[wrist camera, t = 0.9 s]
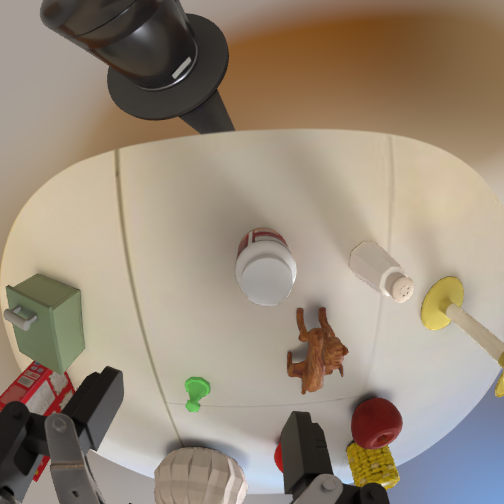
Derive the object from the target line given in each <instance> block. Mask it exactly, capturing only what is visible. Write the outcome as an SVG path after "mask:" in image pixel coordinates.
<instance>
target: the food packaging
mask: <svg viewBox="0 0 504 504" xmlns="http://www.w3.org/2000/svg"><path fill="white" fill-rule="evenodd" d="M74 393H75V390H74V388H73V386H72V384H71V381H70V379H69V377H68V374H67V372H66V371H65V372H64V373H63V374H62V375H60V374H58V373H56V372H54V371H52V370H50V369H49V368H47V367H45V366H43V365H41V364H40V363H38V362H36V361H35V360H34V361H33V362H32V363H31V364H30V365H29V366H28V368H27V369H26V370H25V371H24V372H23V373H22V374H21V375H20V376H19V377H18V378H17V379H16V380H15V381H14V382H13V383H12V384H11V385H10V386H9V387H8V389H7V390H6V391H5V392H4V393H3V394H2V395H1V396H0V412H1V411H2V409H3V408H4V407H5V405H6V404H7V403H9V402H11V401H20V402H22V403H24V404H25V405H26V406H27V408H28V409H29V412H32V413H36V414H40V415H43V416H49V415H51V414H53V413H60V412H61V411H62V410H63V408H64V407H65V405H66V404H67V403H68V401H69V400H70V399H71V397H72V396H73V394H74ZM49 459H50V457H48V456H45V455H44V457H43V458H42V460H41V462H40V464H39V466H38V468H37V471H36V473H35V475H34V477H33V479H32V480H34V481H36V482H37V481H38V479H39V477H40V475H41V473H42V472H43V470H44V468H45V467H46V465H47V463H48V461H49Z"/></svg>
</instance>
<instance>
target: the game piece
mask: <svg viewBox="0 0 504 504" xmlns="http://www.w3.org/2000/svg"><path fill="white" fill-rule="evenodd" d="M185 387H186V391H187V392H188V393H189V396H190V400H188V401H187V403H186V406H185V407H186V408H187V409H188V410H189V412H198V410H199V408H200V404H199V403H198V401H199V400H200V399H201V398H202V397H204V396H206V395H207V394H209V393H210V385H209V383H208V382H207V381H205V380H204V379H203V378H199V377H191V378H190V379H188V380H187V381H186V382H185Z"/></svg>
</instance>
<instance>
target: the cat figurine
mask: <svg viewBox="0 0 504 504" xmlns="http://www.w3.org/2000/svg"><path fill="white" fill-rule="evenodd" d="M319 322H320V325H321V328H314V329H311V330H310V331H309V332H308V331H307V329H306V327H305V325H304V319H303V309H302V308H299V309H297V324H298V328H299V331H300V335H299V338H298V339H299V340H300V341H302V342H306V341H308V344H309V347H308V353H307V357H306V359H305V361H303V362H300V363H293V364H292V354H291V352H288V355H287V373H288V376H289V377H299V378H301V379H302V382H303V384H302V392H301V393H302V394H305V393H306V391H309V392H314V391H317V390H319V389H320V388H322V386H323V379H324V375H328V374H332V372H333V369H339V371H340V374H341V376H342V377H343V367H342V362H343V359H344V356H345V355H347V354H348V349H347V348H346V347H345V346H344V345H343V344H342V343H341V341H340V340H339V338H338V337H335V334H334V332H333V330H332V328H331V326H330V325H329V324H328V322H327V318H326V308H324V307H322V308H320V309H319Z"/></svg>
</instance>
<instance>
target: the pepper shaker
mask: <svg viewBox="0 0 504 504" xmlns="http://www.w3.org/2000/svg"><path fill="white" fill-rule="evenodd" d="M349 267H350V269H351V270H352V271H353V273H354V274H355V276H356V277H357V278H359V279H360V280H362V281H363V282H365V283H366V284H367V285H369V286H370V287H372V288H373V289H375V290H376V291H378V292H379V293H381V294H382V295H384V296H391V297H392V298H393V299H394V300H395V301H396V302H404V301H406V300H408V299H409V298H410V297H411V295H412V293H413V290H414V283H413V281H412V279H410V278H409V277H407V276H406V274H405V272H404V270H403V268H402V267H401V266H400V265H399V264H398V263H397V262H396V261H395V260H394V259H393V258H392V257H391V256H390V255H389V254H388V253H387V252H386V251H385V250H384V249H383V248H381V247H380V246H379V245H378V244H377V243H373V242H362V243H361V244H359V245H358V246H357V247H356V248H355V249H354V250H352V251H351V257H350V262H349Z"/></svg>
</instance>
